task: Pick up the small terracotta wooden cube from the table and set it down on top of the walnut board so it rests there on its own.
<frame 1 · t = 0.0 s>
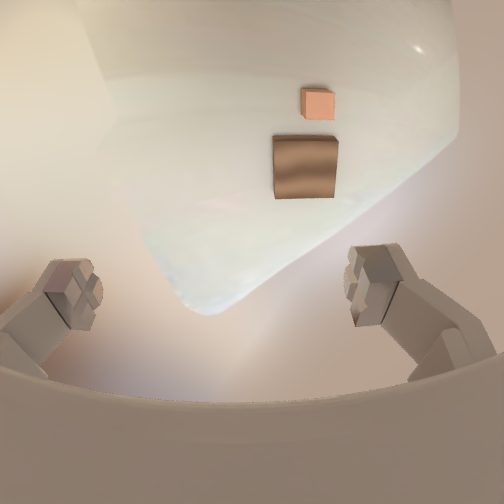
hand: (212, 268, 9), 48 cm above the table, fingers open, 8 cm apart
terracotta cube: (314, 101, 47), on the table
walnut board: (302, 163, 56), on the table
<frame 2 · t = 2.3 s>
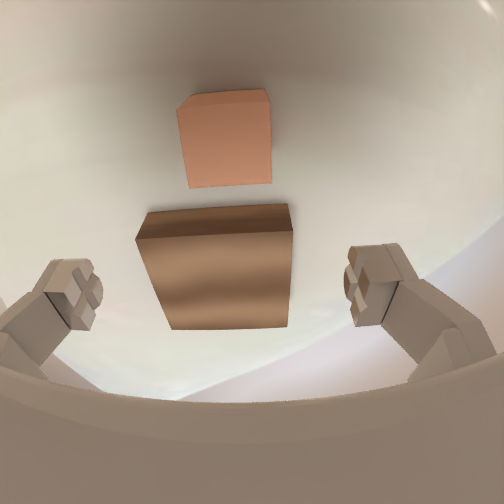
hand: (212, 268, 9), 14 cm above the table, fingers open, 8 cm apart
terracotta cube: (230, 123, 19), on the table
walnut board: (223, 259, 28), on the table
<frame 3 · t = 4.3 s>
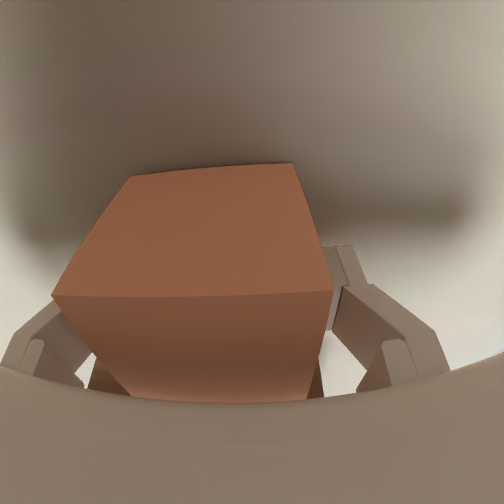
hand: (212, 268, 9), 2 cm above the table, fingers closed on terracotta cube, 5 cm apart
terracotta cube: (217, 236, 10), on the table, touching gripper
walnut board: (217, 387, 18), on the table
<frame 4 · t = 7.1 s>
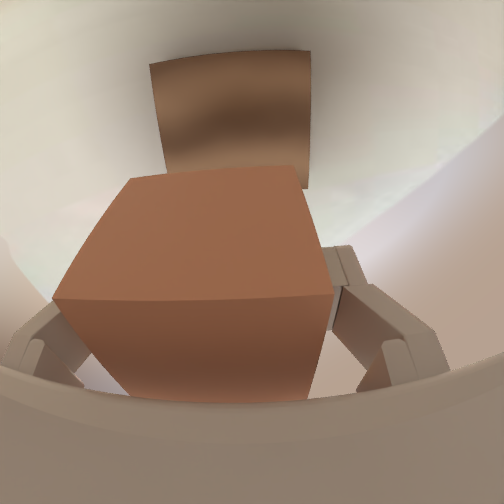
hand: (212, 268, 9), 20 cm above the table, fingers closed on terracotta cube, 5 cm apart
terracotta cube: (217, 238, 10), point 18 cm above the table, touching gripper
walnut board: (235, 114, 24), on the table
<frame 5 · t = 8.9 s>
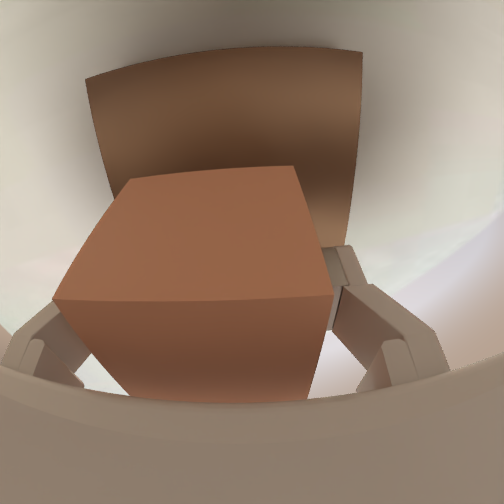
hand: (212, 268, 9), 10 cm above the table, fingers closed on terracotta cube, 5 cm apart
terracotta cube: (217, 238, 10), point 8 cm above the table, touching gripper
walnut board: (232, 150, 16), on the table
when the fingers open (7 cm above the table, at t = 10.3 s): terracotta cube drops 2 cm, resting on walnut board.
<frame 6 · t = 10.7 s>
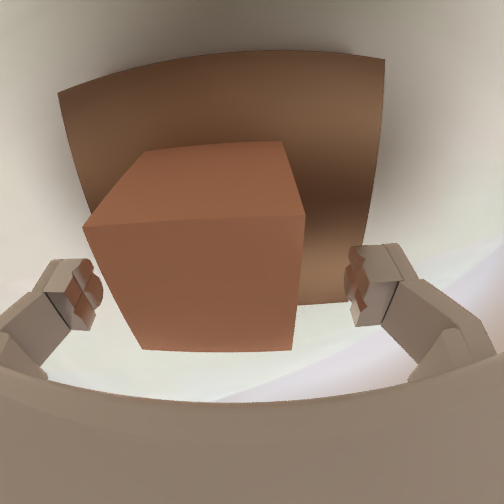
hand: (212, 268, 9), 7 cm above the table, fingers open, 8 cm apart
terracotta cube: (217, 204, 11), point 3 cm above the table, touching walnut board
walnut board: (229, 169, 14), on the table, touching terracotta cube
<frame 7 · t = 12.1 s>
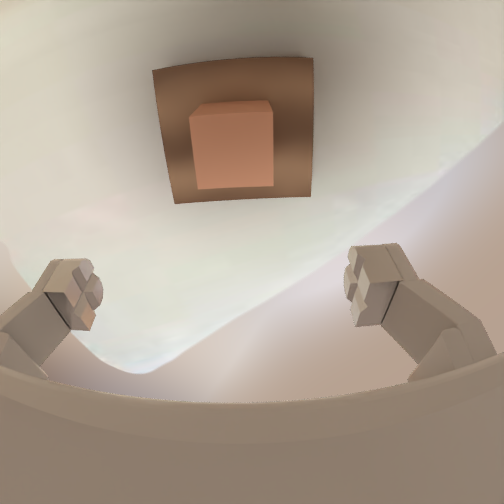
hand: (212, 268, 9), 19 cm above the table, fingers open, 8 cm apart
terracotta cube: (236, 131, 21), point 3 cm above the table
walnut board: (238, 121, 24), on the table
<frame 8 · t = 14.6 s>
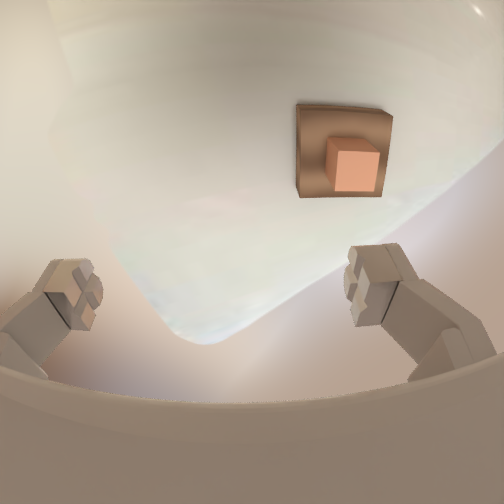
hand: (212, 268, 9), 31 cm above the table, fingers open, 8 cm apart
terracotta cube: (345, 156, 34), point 3 cm above the table, touching walnut board
walnut board: (338, 146, 37), on the table, touching terracotta cube
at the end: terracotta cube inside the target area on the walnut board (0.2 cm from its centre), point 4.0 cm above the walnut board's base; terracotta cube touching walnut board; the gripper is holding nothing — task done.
